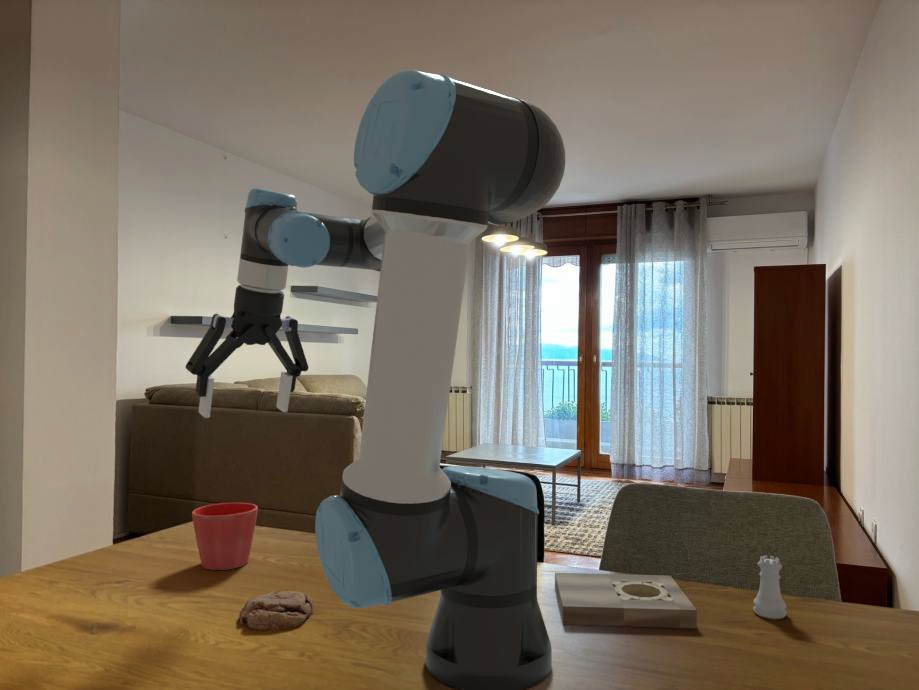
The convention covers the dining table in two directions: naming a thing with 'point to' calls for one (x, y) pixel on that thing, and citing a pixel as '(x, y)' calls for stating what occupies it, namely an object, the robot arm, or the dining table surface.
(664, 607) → the socket board
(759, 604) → the rook chess piece
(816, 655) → the dining table surface
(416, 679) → the dining table surface
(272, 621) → the cookie
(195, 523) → the flower pot
